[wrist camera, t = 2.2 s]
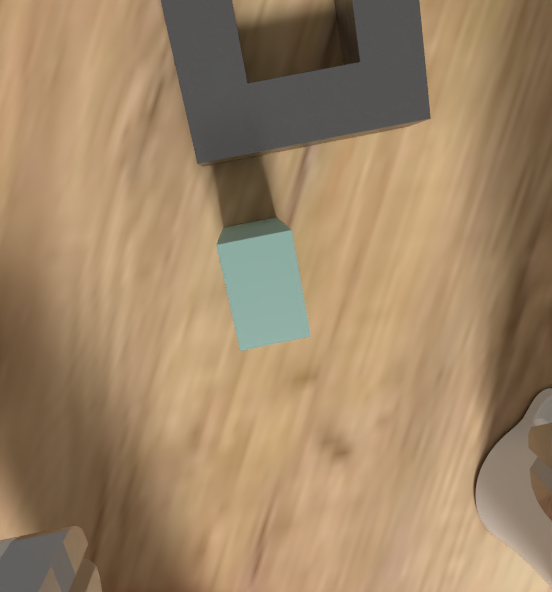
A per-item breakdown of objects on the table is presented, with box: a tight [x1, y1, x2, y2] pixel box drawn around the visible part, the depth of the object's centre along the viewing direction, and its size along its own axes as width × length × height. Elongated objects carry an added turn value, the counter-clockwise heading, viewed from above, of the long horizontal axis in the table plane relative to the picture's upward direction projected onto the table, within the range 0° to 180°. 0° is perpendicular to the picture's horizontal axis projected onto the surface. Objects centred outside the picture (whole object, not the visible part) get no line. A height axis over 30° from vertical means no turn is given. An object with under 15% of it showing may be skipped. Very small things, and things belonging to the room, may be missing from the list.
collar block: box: [161, 0, 431, 166], centre depth 28 cm, size 15×17×4 cm
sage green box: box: [217, 217, 311, 351], centre depth 29 cm, size 4×6×10 cm, turn 11°
